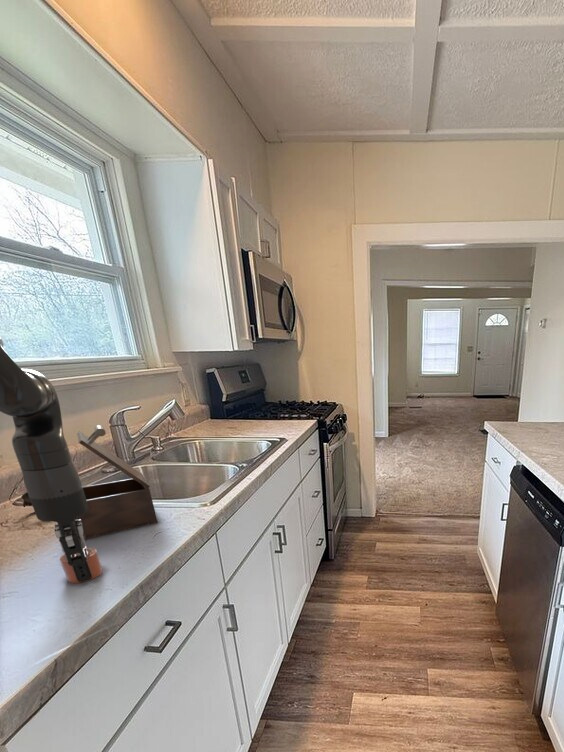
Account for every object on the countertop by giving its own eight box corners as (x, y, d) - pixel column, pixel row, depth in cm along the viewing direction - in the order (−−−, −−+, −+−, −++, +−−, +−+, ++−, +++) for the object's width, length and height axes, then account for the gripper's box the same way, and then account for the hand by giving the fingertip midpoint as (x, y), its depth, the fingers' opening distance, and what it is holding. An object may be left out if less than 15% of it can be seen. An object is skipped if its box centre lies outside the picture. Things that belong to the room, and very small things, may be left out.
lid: (78, 442, 85) (96, 425, 86) (76, 433, 95) (92, 418, 95) (147, 488, 96) (162, 473, 97) (140, 476, 105) (153, 462, 106)
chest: (81, 539, 91) (69, 503, 87) (79, 522, 100) (68, 488, 97) (157, 522, 99) (149, 489, 96) (149, 507, 109) (141, 476, 105)
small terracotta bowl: (75, 586, 73) (67, 564, 72) (62, 577, 76) (54, 556, 74) (108, 572, 78) (101, 552, 76) (94, 564, 80) (88, 545, 79)
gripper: (83, 496, 67) (111, 582, 73) (80, 476, 78) (104, 552, 84) (25, 506, 63) (60, 597, 69) (30, 483, 73) (60, 563, 80)
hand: (84, 572), depth 77 cm, fingers closed on small terracotta bowl, 5 cm apart
